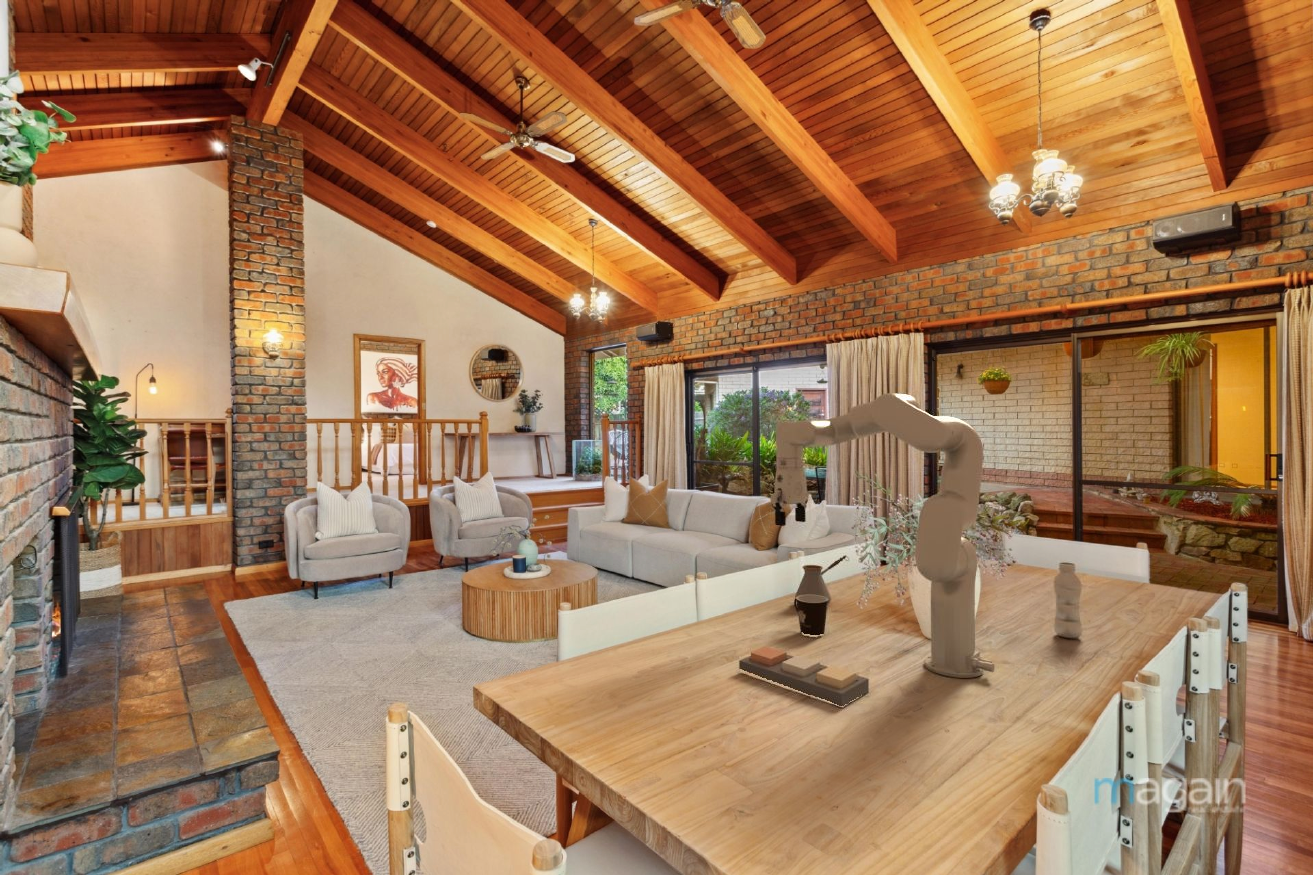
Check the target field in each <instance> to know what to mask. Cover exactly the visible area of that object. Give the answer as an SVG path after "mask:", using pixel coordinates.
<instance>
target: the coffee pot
mask: <svg viewBox="0 0 1313 875" xmlns="http://www.w3.org/2000/svg"><path fill="white" fill-rule="evenodd" d="M846 558H847V559H846ZM844 560H845V561H846V562H849V561H850V558H849V557H848V556H847V555H843V556H842V557H840V558H839V559H837V560H834V562H832V563H831V564H830V565H829V566H828V567H827V568H825V569H824V567H823V566H821V565H817V564H805V565H803V566H802V569H803V570H804V574H803V576H802V579H801V581H800V584H799V586H798V588H797V591H796V593H795V595H794V599H795V598H796V597H797V596H800V595H819V596H823V597H826V598H827V599H828V602H827V606H828V605H829V604H830V602H831V601H832V596H831V594H830V592H829V590H828V587H827V585H826V583H825V579H824V578H823V575H824V574H825V573H827V572H828V571H829V570H831V569H833V568H835V567H836V566H837V565H839V563H841V562H843V561H844ZM823 569H824V570H823Z"/></svg>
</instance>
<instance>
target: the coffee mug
mask: <svg viewBox="0 0 1313 875" xmlns="http://www.w3.org/2000/svg"><path fill="white" fill-rule="evenodd" d="M827 602H828V599H827V598H826V597H823V596H819V595H800V596H797V597H796V598H795V597H794V601H793V607H795V610H796V613H797V615H798V622H799V628H800V630H801V631H800V633H801V632H803V633H804V634H810V635H820V634H824V635H825V632H826V631H825V629H826V621H827V612H828V605H827Z"/></svg>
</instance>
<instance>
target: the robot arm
mask: <svg viewBox="0 0 1313 875" xmlns="http://www.w3.org/2000/svg"><path fill="white" fill-rule="evenodd" d="M775 427H776V428H775V434H776V436H775V438H776V440H775V441H776V444H775V446H776V471H775V480H774V493H772V495H771V496H770V497H769V500H770V502H771V506H772V508H773V511H774V522H775V525H776V526H781V527H785V526H786V511H785V509H786V507H787V505H795V507H794V512H795V513H794V517H795V518H794V520H795V522H797V523H798V522H799V523H806V521H807V520H806V519H807V517H806V508H807V504H808V501H809V496H810V492H809V491H808V488H807V487H808V484H807V477H806V472H805V468H804V447H805V448H814V447H815V448H816V447H829V446H833V445H837V444H842V443H846V442H851V441H854V440H857V439H858V440H859V439H862V438H865V437H870V436H875V435H878V434H882V433H889V434H890V435H892V436H893V437H895V438H897V439H899V440H901V441H902V442H904V443H905V444H907V445H909V446H910V447H912V448H914V449H915V450H918V451H920V452H922V453H923V452H924V453H928V454H931V453H932V454H933V453H944V462H943V464H942V468H941V471H940V472H941V473H940V483H939V489H938V493H936V494H934V495H931V496H930V497H929V498H927V499H926V501H924V502H923V505H922V507H921V509H920V511H919V517H918V524H917V535H916V542H915V543H916V544H915V552H914V553H915V554H914V557H915V558H914V559H915V566H916V567H917V570H918V572H919V574H921V575H922V576H923V578H925V579H926V580H928V581H929V582H930V654H931V655H929V656H927V657H925V658H924V659H923V660H924V661H923V662H924V663H923V664H924V666H925V667H926V669H928V670H929V671H930V672H933V673H935V674H938V675H942V676H946V677H951V678H957V679H972V678H977V677H979V676H982V675H983V673H984V671H986V672H990V673H994V671H995V663H993V660H990V659H984V658H982V657H981V656H980V655H981V654H980V653H981V652H980V651H979V650H976V614H975V613H976V610H975V608H976V607H975V606H976V597H975V596H976V579H977V578H976V577H977V569H978V555H977V551H976V549H975V547H974V545H973V544H972V543H971V542H970V541H969V540H968V539H967V538H966V537H963V531H966V530H968V529H969V528H971V527H972V526H974V525H975V524H976V521H977V519H978V511H979V505H980V504H979V501H980V494H981V480H982V472H983V465H984V464H983V463H984V447H983V443H982V440H981V438H980V436H979V435H978V432H977V431H976V430H975V429H974V428H973V427H972V426H971V425H970V424H968V423H966V422H965V421H963V420H962V419H959V418H956V417H953V416H945V415H937V416H936V415H935V416H934V415H931V414H929V413H928V412H926V411H923V410H922V409H921V406H920V404H919V402H918V400H916V399H915V397H913V396H911V395H910V394H905V393H893V392H891V393H890V392H889V393H887V392H886V393H883V394H881V395H879V396H877V397H875V399H874V400H873V401H870V402H865V403H862V404H858V405H855V406H853V407H851V408H850V411H849V412H848V413H846V414H843V415H840V416H835V417H832V418H828V419H804V420H798V421H796V420H795V421H794V420H792V421H791V420H790V421H787V420H786V421H784V420H783V421H778V423H777V424H776V426H775Z"/></svg>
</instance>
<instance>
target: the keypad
mask: <svg viewBox="0 0 1313 875" xmlns="http://www.w3.org/2000/svg"><path fill="white" fill-rule="evenodd" d="M793 657H794V656H793V655H790V654H787V660H788V659H791V658H793ZM738 666H739V667H738V669H742V670H744V671H747V672H749V673H753V674H755V675H758V676H760V677H762V678H766V679H767V680H772V681H773V682H777V683H779V684H783V685H784V686H788V687H790V688H793V689H795V690H798V691H801V692H803V693H806V694H808V695H813V696H815V697H819V698H821V699H825V700H827V701H830V702H832V703H834V704H837V705H839V706H844V705H845V704H848V703H849V702H850V701H852V700H854V699H856V698H857V697H860V696H861V695H864V694H865V693H867V692H869V691H870V690H869V686H870V684H869V678H867V677H865V676H864V677H863V676H860V675H858V674H856V682H855V683H853V684H851V685H849V686H848V687H846V688H844V689H840V688H837V687H834V686H831V685H827V684H824V683H821V682H818V681H817V673H818V672H820V671H822V670H824V669H826V668H828V667H829V666H827V665H823V664H820V671H818V672H816V673H814V674H812V675H810V676H808V677H802V676H799V675H796V674H793V673H790V672H787V671H784V670H782V662H781V663H779V664H777V665H775V666H772V667H771V666H768V665H765V664H762V663H758V662H755V661H752V660H751V655H749V656H746V657H744V658H742V659H739V661H738ZM867 694H868V693H867ZM865 695H866V694H865ZM865 695H864V696H865ZM860 698H861V697H860Z"/></svg>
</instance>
